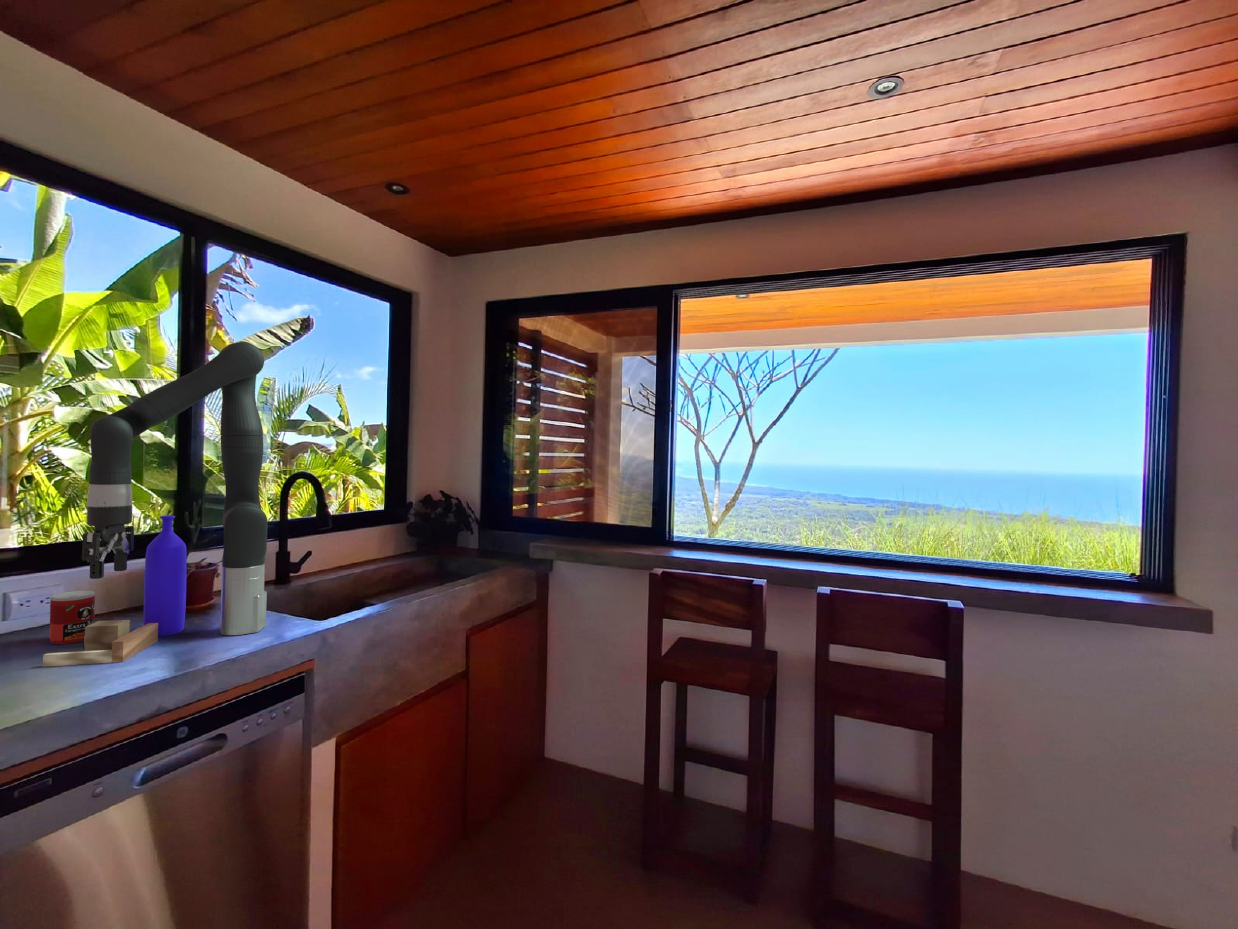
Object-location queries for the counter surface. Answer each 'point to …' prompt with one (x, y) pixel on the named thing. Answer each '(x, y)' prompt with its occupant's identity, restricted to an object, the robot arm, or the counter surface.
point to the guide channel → (119, 652)
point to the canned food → (71, 616)
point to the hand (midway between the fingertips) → (109, 574)
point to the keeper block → (105, 634)
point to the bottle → (165, 581)
